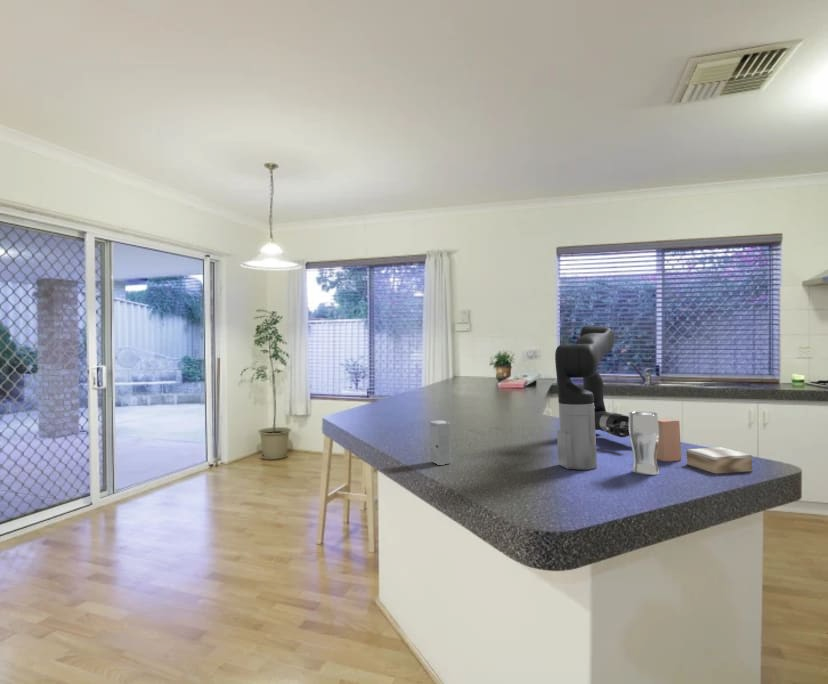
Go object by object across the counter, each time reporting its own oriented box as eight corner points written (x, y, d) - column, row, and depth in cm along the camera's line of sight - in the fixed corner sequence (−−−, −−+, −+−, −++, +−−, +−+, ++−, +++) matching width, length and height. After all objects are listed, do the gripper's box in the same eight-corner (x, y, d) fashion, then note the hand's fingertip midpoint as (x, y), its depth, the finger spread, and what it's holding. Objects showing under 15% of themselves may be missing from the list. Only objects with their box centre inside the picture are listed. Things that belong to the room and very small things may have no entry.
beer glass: (660, 470, 121) (657, 411, 121) (661, 476, 114) (658, 415, 115) (630, 468, 124) (627, 411, 124) (630, 474, 117) (627, 414, 118)
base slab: (715, 473, 116) (714, 457, 116) (687, 464, 125) (686, 449, 126) (752, 471, 117) (751, 454, 117) (721, 462, 126) (721, 447, 127)
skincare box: (429, 462, 139) (427, 421, 139) (442, 460, 140) (441, 419, 141) (438, 466, 133) (436, 423, 133) (452, 464, 135) (450, 422, 135)
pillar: (664, 461, 130) (662, 421, 130) (653, 457, 135) (651, 419, 135) (681, 460, 130) (679, 420, 130) (669, 456, 135) (667, 418, 135)
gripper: (595, 414, 158) (621, 420, 142) (635, 412, 160) (665, 418, 144) (596, 436, 158) (622, 445, 142) (636, 434, 160) (666, 442, 143)
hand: (644, 431), depth 143 cm, fingers open, 8 cm apart
